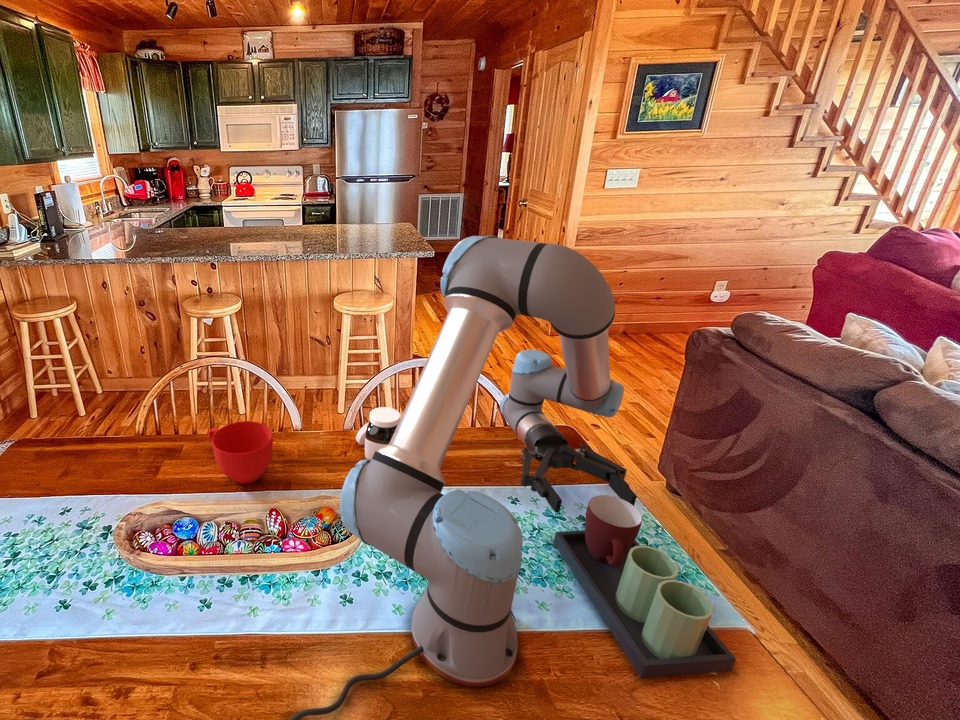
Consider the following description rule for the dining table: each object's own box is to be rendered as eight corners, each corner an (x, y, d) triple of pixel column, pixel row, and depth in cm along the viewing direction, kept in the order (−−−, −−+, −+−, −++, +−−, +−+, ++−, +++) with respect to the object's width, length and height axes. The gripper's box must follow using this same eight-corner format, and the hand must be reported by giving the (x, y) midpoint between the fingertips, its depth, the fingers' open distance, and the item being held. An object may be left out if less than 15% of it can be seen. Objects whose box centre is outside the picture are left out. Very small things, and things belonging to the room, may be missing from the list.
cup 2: (659, 670, 71) (678, 620, 67) (631, 629, 77) (647, 581, 73) (703, 666, 71) (725, 617, 67) (671, 626, 77) (690, 578, 73)
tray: (640, 678, 70) (645, 665, 69) (553, 542, 93) (555, 531, 92) (730, 671, 71) (736, 658, 70) (621, 538, 94) (625, 527, 93)
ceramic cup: (233, 446, 124) (229, 410, 120) (286, 469, 115) (284, 432, 111) (192, 473, 114) (186, 435, 110) (247, 501, 105) (243, 461, 101)
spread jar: (392, 474, 113) (394, 429, 108) (345, 461, 117) (345, 418, 112) (407, 445, 122) (410, 403, 118) (364, 435, 127) (364, 394, 122)
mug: (643, 587, 83) (658, 541, 79) (590, 582, 84) (603, 536, 80) (618, 540, 93) (630, 496, 88) (571, 536, 94) (581, 493, 89)
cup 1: (630, 627, 77) (646, 580, 73) (606, 593, 83) (619, 546, 79) (670, 625, 77) (689, 577, 73) (644, 590, 83) (659, 544, 79)
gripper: (594, 449, 112) (658, 516, 92) (483, 455, 111) (524, 524, 91) (601, 420, 109) (669, 483, 89) (487, 426, 107) (530, 491, 88)
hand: (596, 504), depth 90 cm, fingers open, 13 cm apart
